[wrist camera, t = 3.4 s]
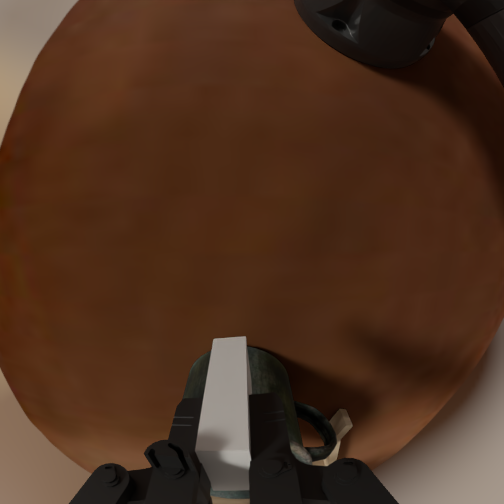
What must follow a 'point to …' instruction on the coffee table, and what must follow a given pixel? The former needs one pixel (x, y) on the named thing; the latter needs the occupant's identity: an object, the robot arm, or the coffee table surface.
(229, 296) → the coffee table surface
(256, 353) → the mug
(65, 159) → the coffee table surface
